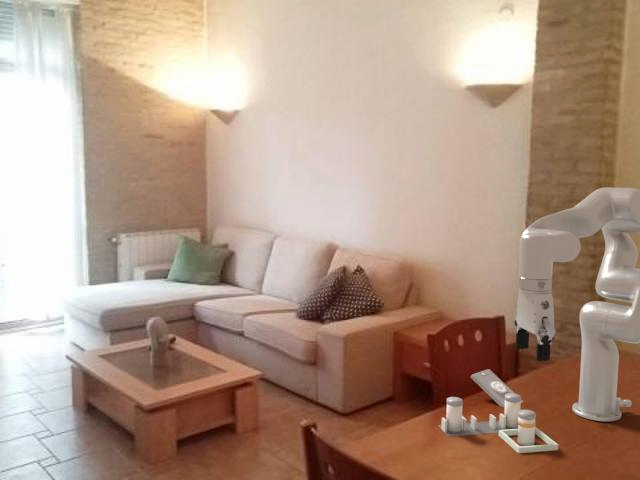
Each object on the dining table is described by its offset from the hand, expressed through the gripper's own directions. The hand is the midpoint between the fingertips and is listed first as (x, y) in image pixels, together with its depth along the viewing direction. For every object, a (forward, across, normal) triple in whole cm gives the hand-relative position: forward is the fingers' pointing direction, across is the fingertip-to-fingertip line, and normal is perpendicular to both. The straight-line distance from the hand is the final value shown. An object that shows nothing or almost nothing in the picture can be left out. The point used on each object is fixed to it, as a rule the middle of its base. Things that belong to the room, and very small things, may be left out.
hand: (532, 354), depth 152 cm
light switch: (+24, +28, -6) cm, 37 cm away
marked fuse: (+23, 0, +1) cm, 23 cm away
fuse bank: (+23, +10, +8) cm, 26 cm away
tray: (+23, 0, 0) cm, 23 cm away
